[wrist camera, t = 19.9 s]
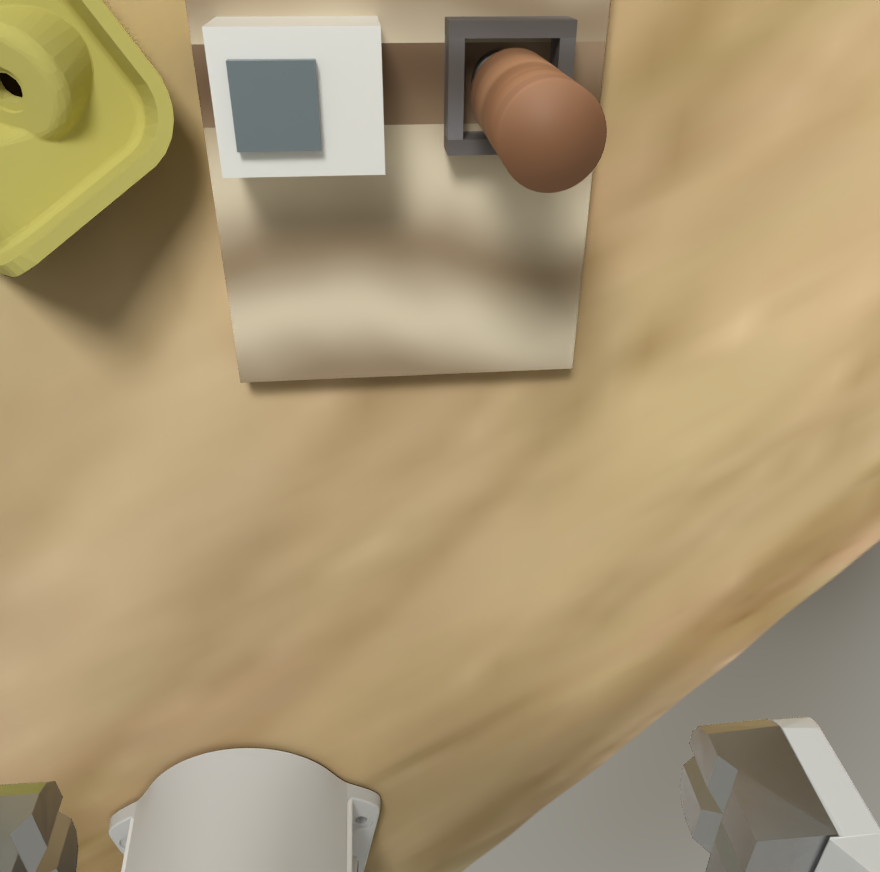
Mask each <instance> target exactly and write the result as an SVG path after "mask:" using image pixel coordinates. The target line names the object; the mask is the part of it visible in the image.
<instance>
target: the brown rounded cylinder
mask: <svg viewBox="0 0 880 872" xmlns="http://www.w3.org/2000/svg"><path fill="white" fill-rule="evenodd" d="M470 101H471V108H472V111H473V115H474V117H475V119H476V121H477V122H478V124H479V126H480V127H481V129H482V130H483V132H484V134H485V135H486V137H487V138H488V140H489V142H490V143H491V145H492V146H493V148H494V150H495V151H496V153H497V154H498V156H499V158H500V159H501V161H502V163H503V164H504V166H505V167H506V169H507V171H508V172H509V174H510V175H511V176H512V177H513V178H514V179H515V180H516V181H517V182H518V183H519V184H521V185H522V186H524V187H525V188H527V189H530V190H532V191H536V192H541V193H555V192H560V191H564V190H567V189H569V188H571V187H573V186H575V185H577V184H578V183H580V182H581V181H583V180H584V179H585V178H586V177H587V176H588V175H589V174H590V173H591V172H592V171H593V169H594V168H595V167H596V165H597V163H598V162H599V160H600V158H601V156H602V153H603V150H604V147H605V142H606V133H607V128H606V120H605V116H604V113H603V110H602V108H601V106H600V104H599V102H598V101H597V100H596V98H595V97H594V96H593V95H592V94H591V93H590V92H589V91H588V90H586V89H585V88H584V87H582V86H581V85H580V84H578V83H577V82H576V81H574V80H573V79H571V78H570V77H569V76H567V75H566V74H564V73H563V72H562V71H560V70H559V69H558V68H556V67H555V66H553V65H552V64H551V63H549V62H548V61H546V60H545V59H544V58H542V57H541V56H540V55H538V54H537V53H535V52H533V51H531V50H528V49H524V48H508V49H496V50H492V51H490V52H488V53H486V54H485V55H484V56H483V57H482V58H481V59H480V60H479V61H478V62H477V64H476V65H475V67H474V70H473V73H472V77H471V93H470Z"/></svg>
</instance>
